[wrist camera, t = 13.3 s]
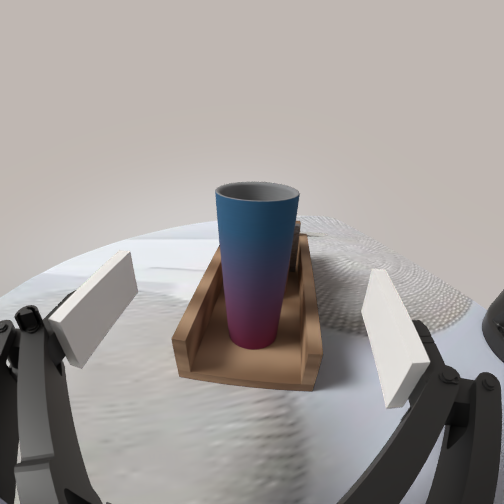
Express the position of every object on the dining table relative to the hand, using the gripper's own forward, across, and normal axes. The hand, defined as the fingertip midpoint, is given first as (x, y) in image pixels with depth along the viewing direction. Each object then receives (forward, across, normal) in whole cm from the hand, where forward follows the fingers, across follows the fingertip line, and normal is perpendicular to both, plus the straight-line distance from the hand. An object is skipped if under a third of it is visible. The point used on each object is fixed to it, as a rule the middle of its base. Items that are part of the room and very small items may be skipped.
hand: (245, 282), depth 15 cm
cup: (+10, -1, -13) cm, 16 cm away
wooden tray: (+17, -1, -14) cm, 21 cm away
